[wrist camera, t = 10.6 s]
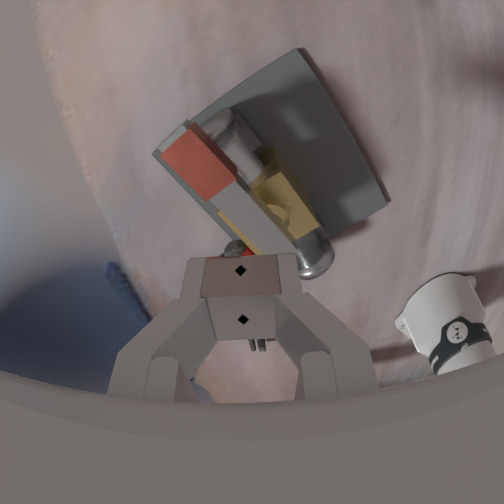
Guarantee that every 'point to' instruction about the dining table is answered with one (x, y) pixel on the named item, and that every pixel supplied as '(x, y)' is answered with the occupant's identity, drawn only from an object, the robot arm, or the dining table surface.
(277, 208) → the pipe valve
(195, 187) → the lever
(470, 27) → the dining table surface
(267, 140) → the mat
